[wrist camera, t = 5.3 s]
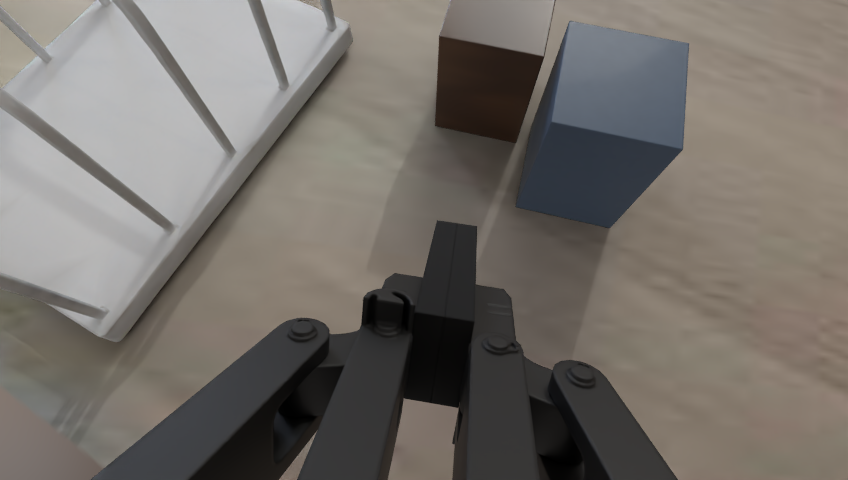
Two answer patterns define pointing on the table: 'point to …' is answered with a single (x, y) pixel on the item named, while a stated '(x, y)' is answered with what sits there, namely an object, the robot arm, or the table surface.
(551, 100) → the slate-blue block
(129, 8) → the file sorter
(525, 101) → the walnut block
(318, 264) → the table surface
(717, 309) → the table surface
